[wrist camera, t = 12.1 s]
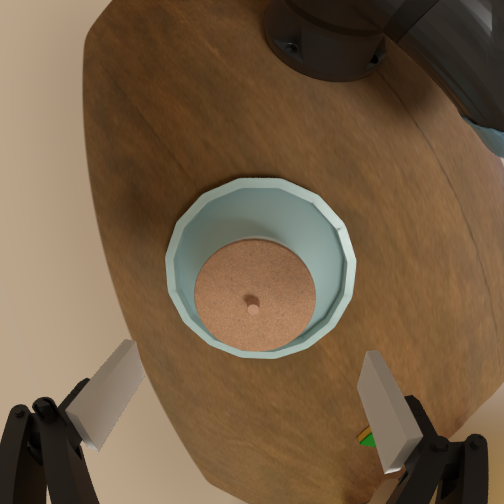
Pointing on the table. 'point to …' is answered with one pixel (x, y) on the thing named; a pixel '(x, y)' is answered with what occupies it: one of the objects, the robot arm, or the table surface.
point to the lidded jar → (255, 294)
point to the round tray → (272, 225)
